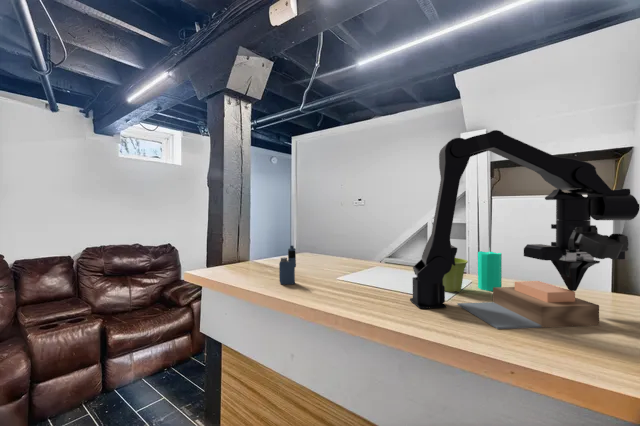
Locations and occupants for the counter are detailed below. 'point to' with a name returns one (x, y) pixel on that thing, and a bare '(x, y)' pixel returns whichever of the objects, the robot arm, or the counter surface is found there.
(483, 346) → the counter surface
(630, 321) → the counter surface
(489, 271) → the candle
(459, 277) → the plant pot
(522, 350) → the counter surface
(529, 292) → the salmon pink brick
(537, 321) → the wooden block
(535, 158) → the robot arm
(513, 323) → the mat
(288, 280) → the vaping device
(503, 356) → the counter surface
